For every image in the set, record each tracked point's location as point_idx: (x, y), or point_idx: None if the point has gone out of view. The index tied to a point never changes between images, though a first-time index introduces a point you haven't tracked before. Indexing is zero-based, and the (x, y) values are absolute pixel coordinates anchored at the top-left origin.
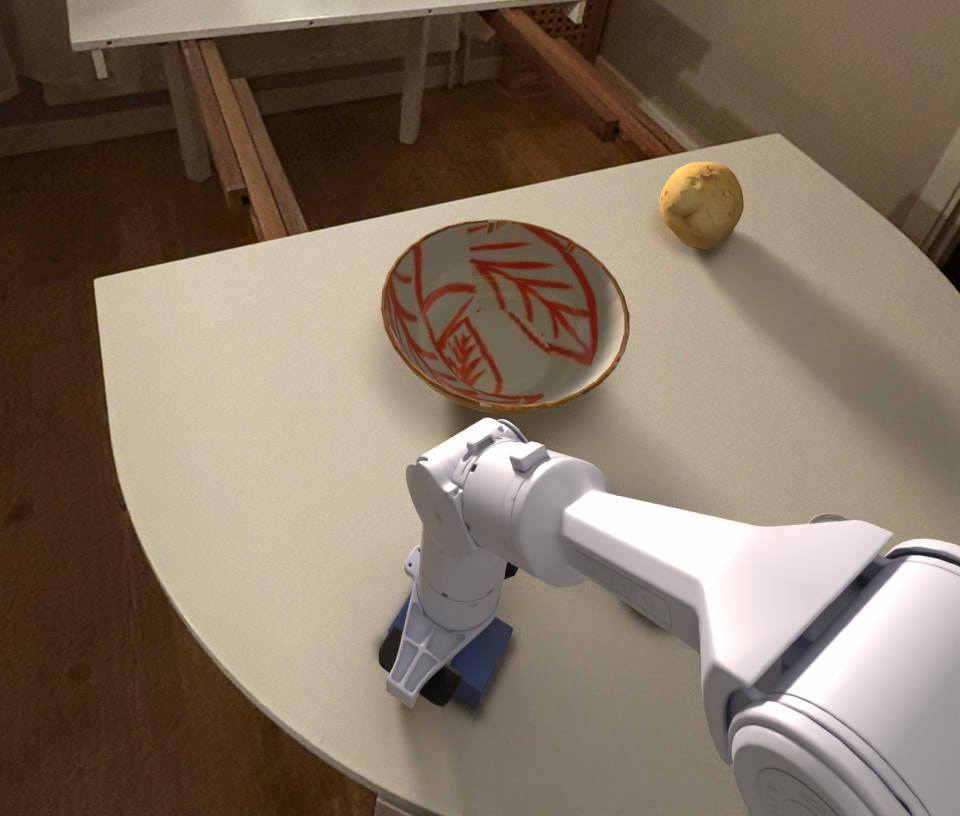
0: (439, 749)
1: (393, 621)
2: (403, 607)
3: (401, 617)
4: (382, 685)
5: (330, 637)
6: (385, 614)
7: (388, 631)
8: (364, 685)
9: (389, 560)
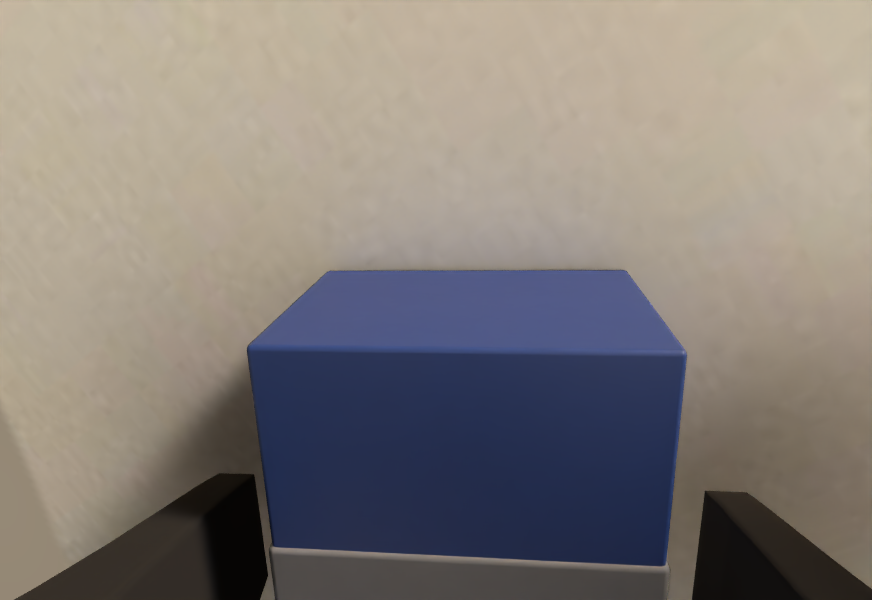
0: None
1: (299, 348)
2: (401, 358)
3: (349, 375)
4: (213, 328)
5: (202, 7)
6: (436, 177)
7: (254, 340)
8: (167, 267)
9: (682, 23)
